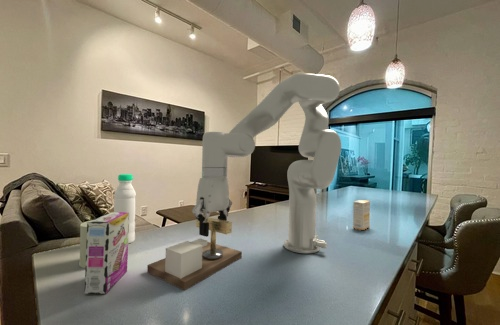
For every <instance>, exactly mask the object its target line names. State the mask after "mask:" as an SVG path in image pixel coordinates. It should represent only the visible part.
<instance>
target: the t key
mask: <svg viewBox="0 0 500 325" xmlns="http://www.w3.org/2000/svg"><path fill="white" fill-rule="evenodd" d="M203 216H204V217H205V215H203ZM207 222H209V231H210V241H209V242H210V249H209V250H206V251H204V252H203V258H204V259H206V260H218V259H221V258H222V257H223V251H221V250H219V249H216V244H217V233H219V234H223V235H228V234H231V233H232V232H233V231H232V228H233V225H232V224H233V222H232V221H228V220H227V221H224V220H220V219H218V218H214V217H210V216H209V218H208V221H207ZM196 228H199V221H198V219H197V218H196Z"/></svg>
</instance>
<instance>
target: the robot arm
mask: <svg viewBox="0 0 500 325" xmlns="http://www.w3.org/2000/svg"><path fill="white" fill-rule="evenodd" d="M340 89H341V87H340V84H339V82H338V80H337V79H336V78H335V77H333V76H331V75H325V74H317V73H316V74H315V73H307V72H304V73H303V72H300V73H295V74H292V75H291V76H289V77H287V78H286V79H284V80H282V81H281V82H279V83H278V84H277V85H275V87H274V88H273V89H271V91H270V92H269V93H268V94H267V95H266V96H265V98H263V99H262V100H261V102H259V104H257V105H256V106H255V107H254V108H253V109H252V110H251V111H250V112H249V113H247V115H246V116H245V117H243V118H242V119H241V120H240V121H239V122H237V124H236V125H235V126H234V127H232V129H231V130H230V131H229V132H228V133H227V132H226V133H225V132H222V131H221V132H220V131H207V132H205V133H204V134H203V135H202V153H201V154H202V157H201V160H202V162H201V177H200V178H199V181H198V186H197V191H196V199H195V201H196V203H195V205H194V206H193V208H192V210H191V212H192V214H193V215H194V217H195V218H196V220H197V219H198V221H199V227H198V228H199V231H198V232H199V236H201V237H202V236H203V237H206V238H207V237H209V233H210V232H209V231H210V230H209V222H207V221H208V218H209V217H210V215H211V214H212V213H216V212H217V213H218V215H217V219H220V220H224V221H228V217H229V213H230V210H231V207H232V205H233V202H232V200H231V199H230V189H229V188H230V187H229V180H228V157H229V158H246V157H248V156H250V155H251V154H253V152H254V151H255V148H256V142H255V140H254V138H255V137H256V136H257V135H259V134H261V133H263V132H265V131H267V130H269V129H270V128H273V126H275V125H276V124H277V123H278V122H279V120H281V118H282V117H283V116H284V115H285V114H286V113H287V111H288V110H289V109H291V107H292V106H293V105H294V104H295V103H298V104H299V106H300V107H301V109H302V111H303V113H304V118H305V119H304V124H303V127H302V128H303V129H302V132H301V134H300V135H301V136H300V139H299V142H298V152H299V154H300V155H301V156H302V157H304V158H309V159H300V160H296V161H293V162H292V163H291V164H290V165H289V166H288V169H287V173H286V174H287V182H288V183H287V184H288V192H289V193H288V194H289V195H288V196H289V198H288V201H289V203H288V234H287V236H288V238H287V239H285V241H284V242H283V247H284V248H285V249H286V250H288V251H290V252H294V253H299V254H314V253H317V252H319V251H320V248H321V249H325V250H327V248H328V242H326V240H321V239H319V235H318V234H316V224H317V223H316V221H317V220H316V216H317V196H316V192H315V189H316V190H324V189H327V188H328V187H330V185H331V184H332V183H333V181H334V178H335V175H336V172H337V167H338V164H339V159H340V156H341V152H342V139H341V137H340V135H339V134H338V133H337V132H336V131H335V130H333V129H328V128H329V123H330V122H329V120H330V119H329V115H328V114H327V111H326V109H325V108H324V107H323V105H325V104H328V103H331V102H333V101H335V99H337V98H338V96H339V94H340V91H341V90H340ZM311 158H312V159H313V160H312V159H311ZM204 216H205V217H204Z"/></svg>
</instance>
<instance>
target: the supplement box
mask: <svg viewBox="0 0 500 325" xmlns="http://www.w3.org/2000/svg"><path fill="white" fill-rule="evenodd" d="M352 207H353V210H352V211H353V212H352V213H353V214H352V217H353V218H352V220H353V222H352V228H355V229H354V230H356V229H359V230H358V231H361V230H364V231H365V229H366V230H368V229H370V223H371V222H370V220H371V219H370V218H371V213H370V212H371V210H370V209H371V201H370V200H365V199H364V200H363V199H358V200H354V201H353V206H352ZM367 228H368V229H367Z"/></svg>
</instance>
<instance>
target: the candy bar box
mask: <svg viewBox="0 0 500 325" xmlns="http://www.w3.org/2000/svg"><path fill="white" fill-rule="evenodd" d="M88 221H89V222H87V221H86V222H87V242H86V268H84V270H85V273H84V274H85V275H84V276H85V277H84V295H106V294H107V293H108V292H109V291H110V290H111V289H112V288H113V287H114V286H115V285H116V284H117V283H118V281H119V280H120V279H121V278H122V277H123V276H124V275H125V274H126V273H127V272H128V258H129V257H128V253H129V244H128V233H129V213H127V212H114V211H111V212H109V213H106V214H104V215H102V216H100V217H97V218H93V219H92V221H91V220H88Z"/></svg>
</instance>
